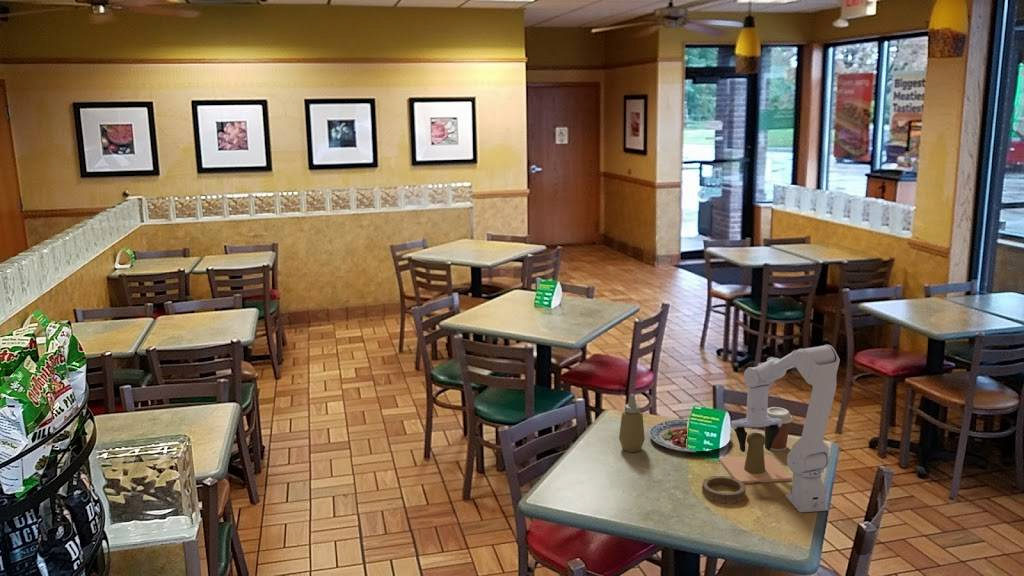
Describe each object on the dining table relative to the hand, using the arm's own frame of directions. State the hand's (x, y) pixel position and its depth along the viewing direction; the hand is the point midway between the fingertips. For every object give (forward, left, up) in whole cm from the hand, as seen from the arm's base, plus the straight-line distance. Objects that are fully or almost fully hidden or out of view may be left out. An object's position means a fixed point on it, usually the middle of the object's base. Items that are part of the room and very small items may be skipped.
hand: (755, 449), depth 241 cm
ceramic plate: (+24, +12, -7) cm, 28 cm away
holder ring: (-13, +14, -6) cm, 20 cm away
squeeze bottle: (+20, +32, -7) cm, 38 cm away
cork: (-1, 0, -6) cm, 6 cm away
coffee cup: (+15, -13, -7) cm, 21 cm away
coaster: (0, 0, -6) cm, 6 cm away
